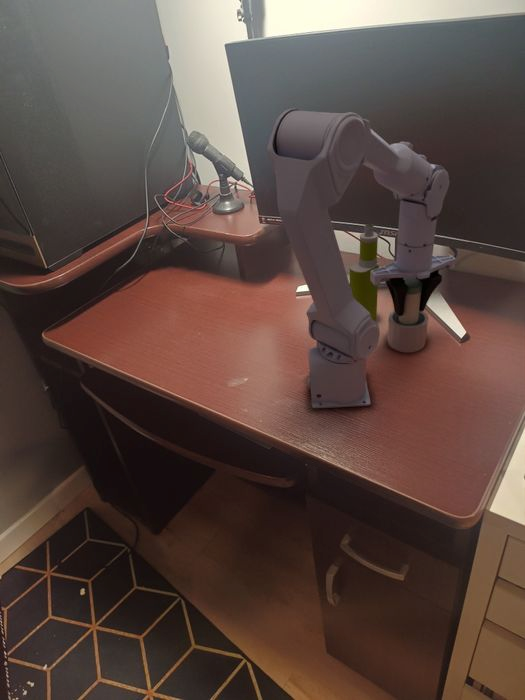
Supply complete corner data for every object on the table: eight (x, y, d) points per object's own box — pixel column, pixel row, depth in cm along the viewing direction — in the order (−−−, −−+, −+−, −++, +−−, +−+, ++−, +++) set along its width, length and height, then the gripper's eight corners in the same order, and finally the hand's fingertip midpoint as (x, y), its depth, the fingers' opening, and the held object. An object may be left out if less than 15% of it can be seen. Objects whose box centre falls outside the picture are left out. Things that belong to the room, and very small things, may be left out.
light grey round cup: (391, 353, 85) (392, 329, 82) (384, 332, 90) (386, 308, 87) (429, 351, 84) (432, 326, 81) (420, 330, 90) (423, 306, 86)
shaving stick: (403, 326, 83) (406, 289, 78) (395, 316, 85) (397, 280, 81) (421, 322, 83) (426, 285, 79) (412, 312, 86) (416, 276, 81)
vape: (379, 318, 94) (384, 224, 83) (360, 330, 92) (362, 235, 80) (365, 311, 97) (368, 220, 85) (346, 323, 94) (346, 230, 82)
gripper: (384, 258, 71) (380, 330, 79) (470, 240, 73) (458, 313, 81) (366, 241, 77) (364, 310, 85) (446, 225, 78) (437, 294, 86)
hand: (408, 310), depth 83 cm, fingers closed on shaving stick, 3 cm apart
